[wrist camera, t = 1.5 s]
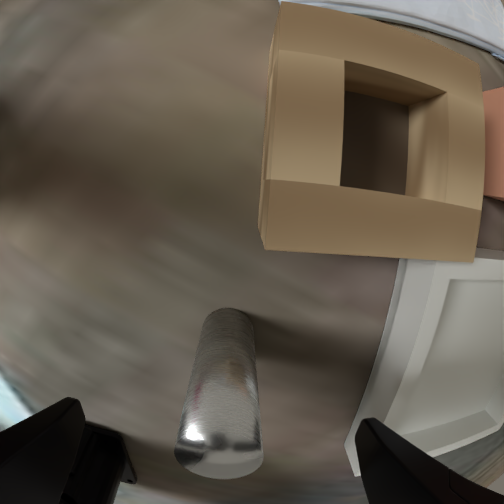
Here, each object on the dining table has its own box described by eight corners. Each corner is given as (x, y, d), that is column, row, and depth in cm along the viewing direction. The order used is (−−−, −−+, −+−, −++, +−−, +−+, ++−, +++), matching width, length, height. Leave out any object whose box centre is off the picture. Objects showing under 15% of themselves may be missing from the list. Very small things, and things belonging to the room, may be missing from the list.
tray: (482, 410, 17) (498, 429, 14) (343, 444, 16) (355, 476, 13) (540, 255, 14) (567, 266, 11) (402, 239, 13) (437, 254, 10)
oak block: (416, 239, 13) (473, 262, 9) (257, 226, 13) (265, 249, 9) (424, 86, 11) (478, 64, 7) (269, 52, 11) (281, 1, 7)
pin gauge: (251, 353, 14) (259, 480, 7) (202, 350, 14) (178, 474, 7) (255, 309, 14) (268, 432, 6) (202, 306, 13) (169, 426, 6)
